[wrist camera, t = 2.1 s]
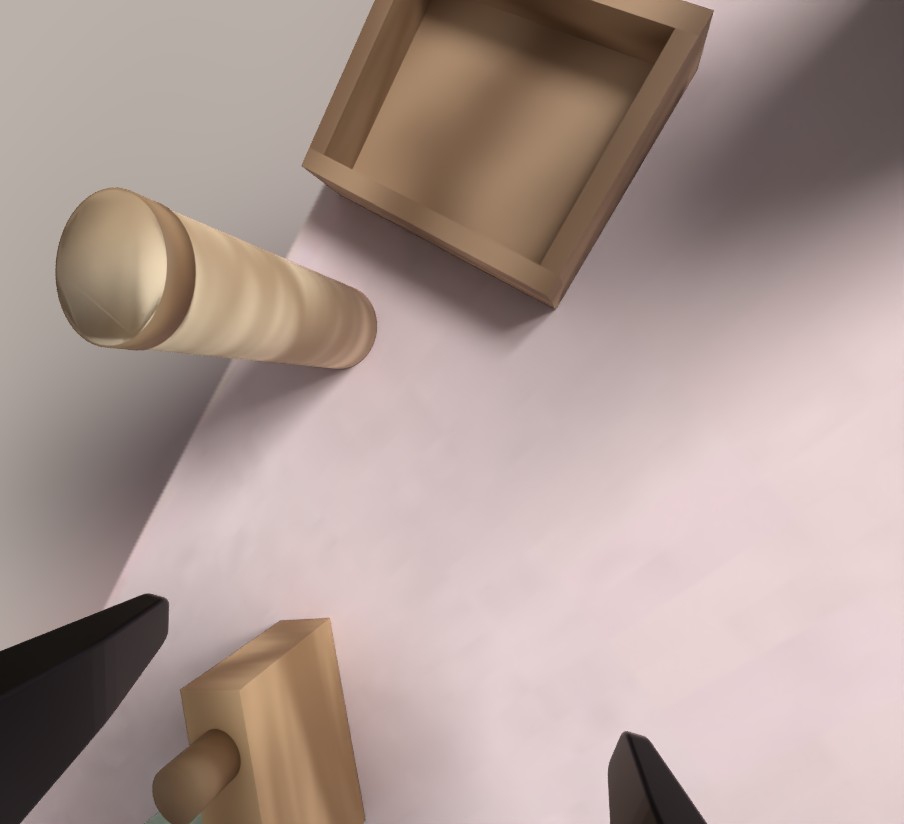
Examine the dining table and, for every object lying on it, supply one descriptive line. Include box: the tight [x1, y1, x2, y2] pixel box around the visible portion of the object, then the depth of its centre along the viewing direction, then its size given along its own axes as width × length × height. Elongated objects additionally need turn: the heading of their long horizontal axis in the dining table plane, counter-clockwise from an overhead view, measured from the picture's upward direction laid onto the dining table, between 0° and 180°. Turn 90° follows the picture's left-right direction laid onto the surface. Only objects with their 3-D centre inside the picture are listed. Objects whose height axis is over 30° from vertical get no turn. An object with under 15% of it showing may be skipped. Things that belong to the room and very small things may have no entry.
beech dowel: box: [56, 188, 377, 369], centre depth 17 cm, size 4×4×11 cm
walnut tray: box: [302, 0, 714, 309], centre depth 18 cm, size 12×10×3 cm
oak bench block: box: [153, 618, 365, 824], centre depth 20 cm, size 3×10×8 cm, turn 11°
